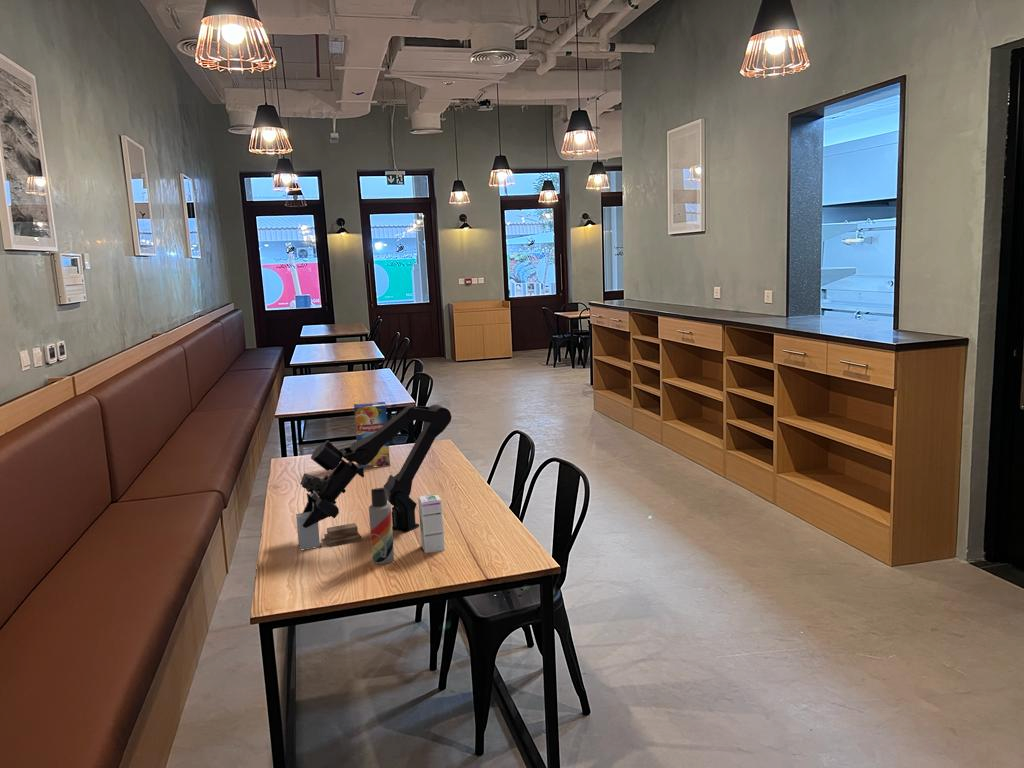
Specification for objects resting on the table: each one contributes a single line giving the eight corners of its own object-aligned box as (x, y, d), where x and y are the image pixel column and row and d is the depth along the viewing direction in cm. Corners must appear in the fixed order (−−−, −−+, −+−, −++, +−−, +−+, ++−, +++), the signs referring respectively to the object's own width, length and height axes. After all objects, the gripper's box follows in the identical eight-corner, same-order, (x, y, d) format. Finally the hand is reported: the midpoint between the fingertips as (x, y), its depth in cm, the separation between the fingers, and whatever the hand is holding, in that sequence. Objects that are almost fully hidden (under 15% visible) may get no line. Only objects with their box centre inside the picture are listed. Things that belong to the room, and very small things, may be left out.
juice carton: (358, 468, 287) (354, 407, 283) (358, 463, 294) (353, 404, 290) (390, 465, 290) (386, 405, 286) (388, 460, 297) (384, 401, 293)
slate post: (316, 541, 214) (314, 511, 212) (320, 546, 209) (317, 516, 208) (298, 544, 211) (296, 514, 210) (301, 550, 207) (299, 519, 205)
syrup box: (445, 550, 203) (442, 499, 201) (423, 553, 201) (420, 502, 199) (441, 543, 208) (438, 493, 206) (420, 546, 207) (417, 496, 204)
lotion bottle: (375, 566, 194) (370, 492, 191) (370, 558, 199) (365, 486, 196) (396, 562, 196) (391, 489, 193) (391, 554, 202) (386, 483, 198)
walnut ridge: (355, 532, 219) (354, 520, 219) (361, 540, 213) (360, 528, 212) (324, 538, 215) (323, 526, 215) (329, 546, 209) (328, 534, 209)
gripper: (310, 456, 216) (274, 498, 214) (323, 471, 200) (284, 518, 197) (339, 478, 221) (304, 520, 218) (354, 494, 204) (317, 540, 201)
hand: (302, 524), depth 209 cm, fingers closed on slate post, 5 cm apart
